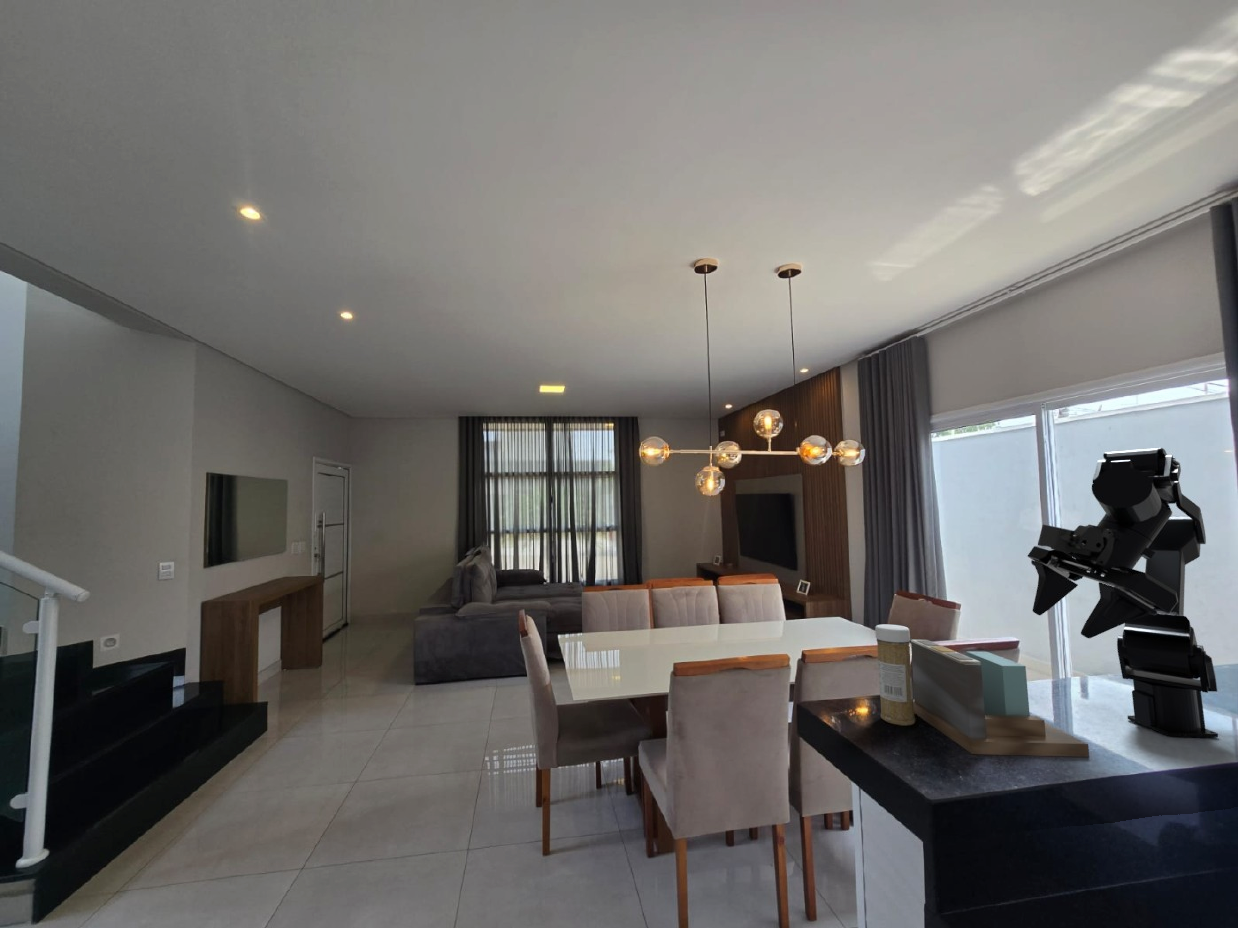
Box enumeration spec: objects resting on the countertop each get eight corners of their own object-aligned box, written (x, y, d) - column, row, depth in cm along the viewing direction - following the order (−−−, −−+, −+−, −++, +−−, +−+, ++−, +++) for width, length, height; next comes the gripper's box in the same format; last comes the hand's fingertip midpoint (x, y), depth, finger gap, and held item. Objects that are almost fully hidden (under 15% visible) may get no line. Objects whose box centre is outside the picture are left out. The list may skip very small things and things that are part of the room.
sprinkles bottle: (921, 722, 76) (915, 626, 77) (904, 728, 73) (899, 630, 75) (890, 712, 80) (885, 622, 81) (873, 718, 77) (868, 625, 79)
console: (1002, 710, 80) (996, 637, 82) (1089, 756, 65) (1080, 665, 66) (908, 709, 81) (904, 636, 82) (972, 753, 65) (965, 663, 67)
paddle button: (991, 707, 77) (986, 651, 78) (1030, 728, 69) (1025, 666, 70) (970, 707, 77) (966, 651, 78) (1007, 728, 69) (1002, 665, 70)
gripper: (1027, 494, 83) (970, 576, 84) (1132, 510, 64) (1056, 615, 65) (1090, 532, 82) (1032, 614, 83) (1215, 558, 63) (1137, 664, 65)
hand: (1058, 624), depth 74 cm, fingers open, 9 cm apart
